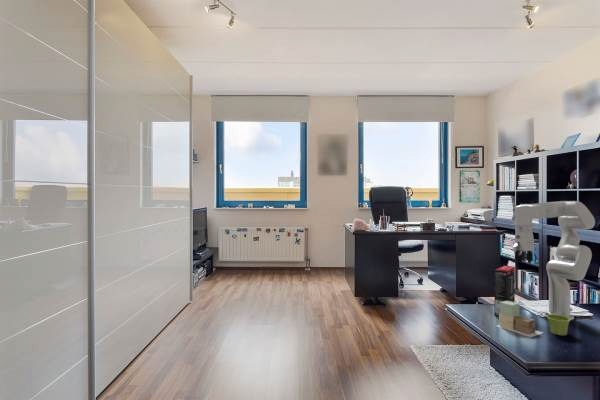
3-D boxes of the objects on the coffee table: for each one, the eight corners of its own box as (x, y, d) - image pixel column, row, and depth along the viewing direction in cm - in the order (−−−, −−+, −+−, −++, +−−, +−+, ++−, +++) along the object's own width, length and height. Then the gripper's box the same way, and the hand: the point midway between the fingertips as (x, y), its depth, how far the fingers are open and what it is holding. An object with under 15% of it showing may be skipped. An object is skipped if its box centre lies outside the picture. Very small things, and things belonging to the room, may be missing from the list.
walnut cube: (522, 328, 175) (522, 316, 175) (535, 332, 169) (535, 319, 169) (515, 330, 172) (515, 318, 172) (528, 334, 166) (528, 321, 166)
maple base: (507, 323, 182) (507, 311, 182) (521, 327, 176) (520, 315, 176) (499, 325, 179) (498, 313, 179) (512, 329, 172) (512, 317, 172)
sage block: (519, 315, 176) (519, 303, 176) (512, 317, 173) (512, 305, 173) (507, 312, 181) (507, 300, 181) (500, 313, 178) (500, 302, 178)
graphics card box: (502, 310, 206) (502, 264, 206) (516, 313, 201) (515, 266, 201) (494, 317, 194) (493, 269, 194) (508, 320, 189) (507, 270, 189)
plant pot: (564, 340, 162) (564, 321, 162) (542, 333, 170) (542, 316, 170) (574, 336, 166) (574, 318, 166) (553, 330, 174) (552, 313, 175)
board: (508, 324, 183) (508, 322, 183) (543, 335, 168) (543, 332, 168) (495, 328, 178) (495, 325, 178) (530, 339, 163) (530, 337, 163)
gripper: (521, 230, 175) (521, 264, 175) (540, 228, 183) (540, 261, 183) (506, 229, 182) (506, 261, 182) (525, 227, 190) (526, 259, 190)
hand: (524, 261), depth 182 cm, fingers open, 9 cm apart
